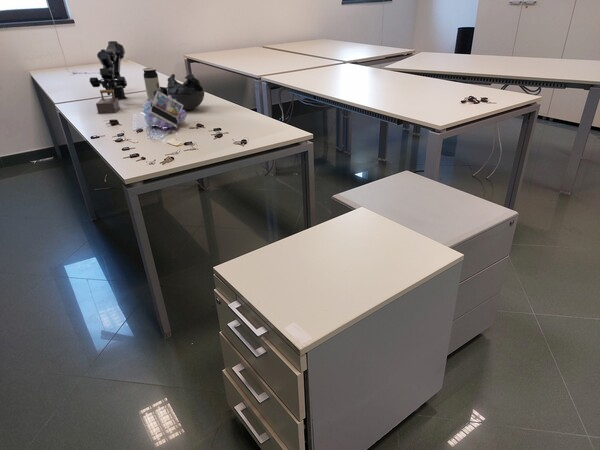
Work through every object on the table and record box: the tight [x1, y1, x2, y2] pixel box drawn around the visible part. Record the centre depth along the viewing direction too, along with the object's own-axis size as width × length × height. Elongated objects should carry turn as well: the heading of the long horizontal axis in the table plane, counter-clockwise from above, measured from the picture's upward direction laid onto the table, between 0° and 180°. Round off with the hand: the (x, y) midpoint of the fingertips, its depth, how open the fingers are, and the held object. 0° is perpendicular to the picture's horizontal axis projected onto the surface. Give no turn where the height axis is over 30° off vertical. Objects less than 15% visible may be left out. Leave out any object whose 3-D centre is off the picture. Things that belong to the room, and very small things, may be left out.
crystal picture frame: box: [142, 90, 187, 131], centre depth 204 cm, size 20×22×18 cm
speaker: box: [153, 86, 168, 97], centre depth 239 cm, size 8×6×10 cm
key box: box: [95, 99, 120, 115], centre depth 231 cm, size 11×9×5 cm
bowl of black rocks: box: [166, 73, 205, 111], centre depth 230 cm, size 20×20×19 cm
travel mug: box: [142, 67, 161, 101], centre depth 250 cm, size 8×8×18 cm
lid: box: [95, 89, 118, 105], centre depth 229 cm, size 12×9×6 cm
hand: (108, 94), depth 234 cm, fingers closed
